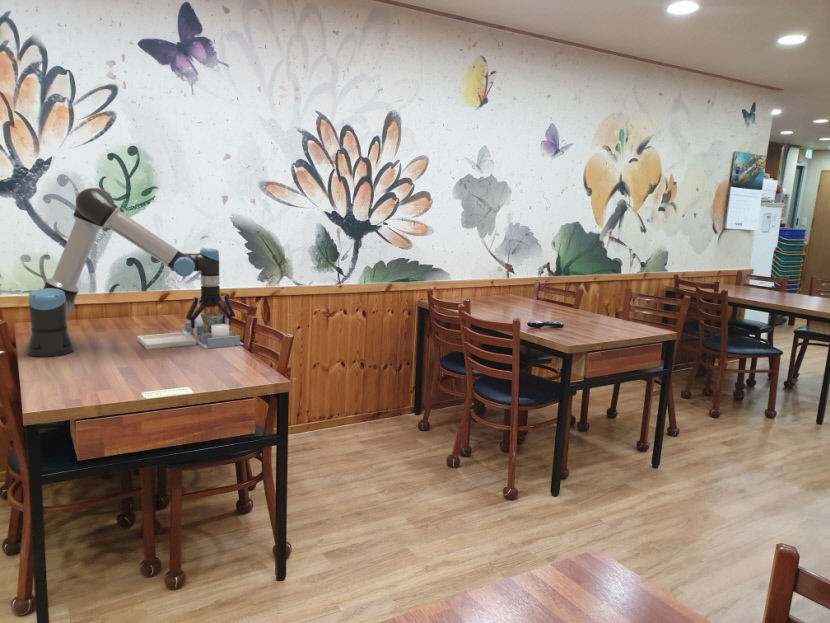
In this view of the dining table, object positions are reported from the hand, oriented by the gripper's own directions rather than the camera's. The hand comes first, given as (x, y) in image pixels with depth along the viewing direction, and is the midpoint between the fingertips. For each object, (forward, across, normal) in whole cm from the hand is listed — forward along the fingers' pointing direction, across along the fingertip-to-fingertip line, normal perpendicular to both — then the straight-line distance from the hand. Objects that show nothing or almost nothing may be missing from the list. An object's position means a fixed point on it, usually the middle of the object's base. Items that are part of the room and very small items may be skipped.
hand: (211, 334), depth 263 cm
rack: (+2, 0, 0) cm, 2 cm away
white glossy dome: (+2, 0, +12) cm, 13 cm away
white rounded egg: (+2, 0, -12) cm, 13 cm away
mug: (+2, 0, 0) cm, 2 cm away
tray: (+2, -18, -1) cm, 19 cm away
